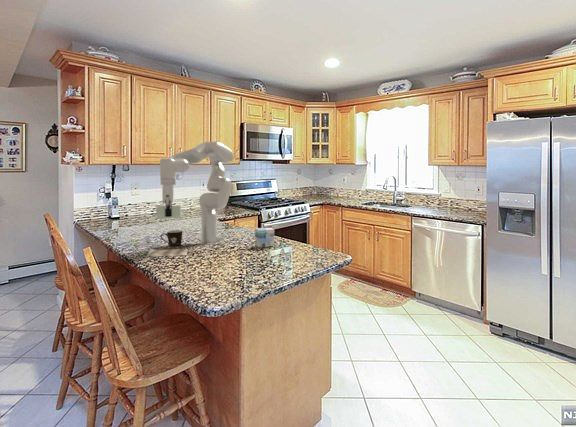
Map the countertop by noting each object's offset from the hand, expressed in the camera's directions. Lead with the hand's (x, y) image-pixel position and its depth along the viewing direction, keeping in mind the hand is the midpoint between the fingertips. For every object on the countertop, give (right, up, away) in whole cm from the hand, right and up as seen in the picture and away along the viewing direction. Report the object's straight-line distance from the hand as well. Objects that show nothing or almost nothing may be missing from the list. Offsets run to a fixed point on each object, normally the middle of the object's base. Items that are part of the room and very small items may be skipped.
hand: (169, 215), depth 191 cm
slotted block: (0, -1, 0) cm, 1 cm away
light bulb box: (+50, -19, +27) cm, 60 cm away
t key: (-20, -18, +24) cm, 36 cm away
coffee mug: (-4, -19, +18) cm, 27 cm away
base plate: (-1, -21, +1) cm, 22 cm away
